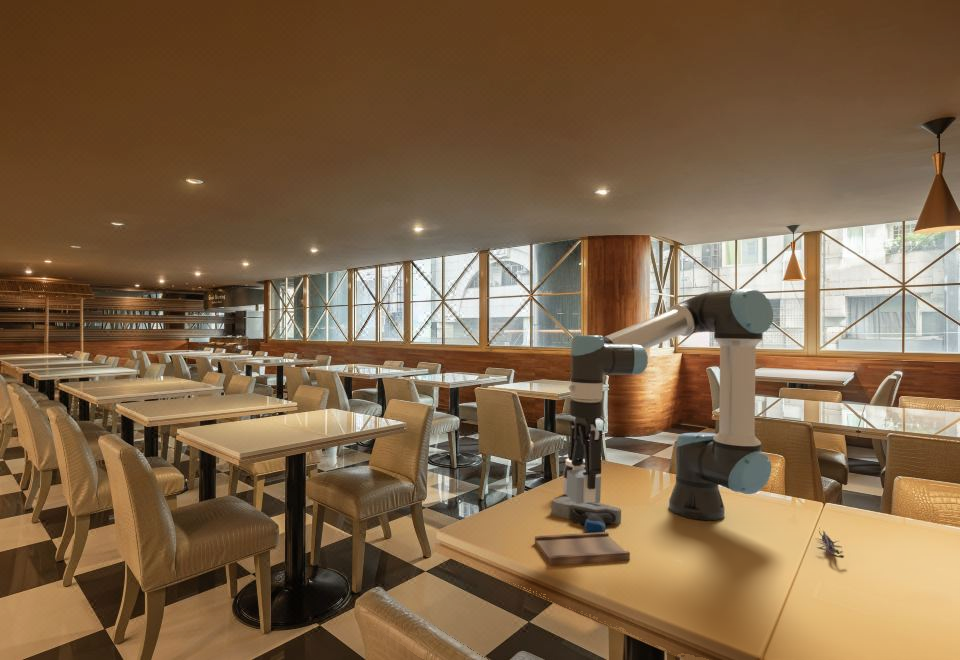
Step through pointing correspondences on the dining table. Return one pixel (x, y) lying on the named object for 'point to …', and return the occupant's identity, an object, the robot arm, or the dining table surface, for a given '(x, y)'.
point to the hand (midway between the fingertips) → (583, 496)
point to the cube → (580, 486)
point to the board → (580, 548)
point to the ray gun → (587, 513)
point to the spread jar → (567, 467)
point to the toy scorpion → (829, 544)
